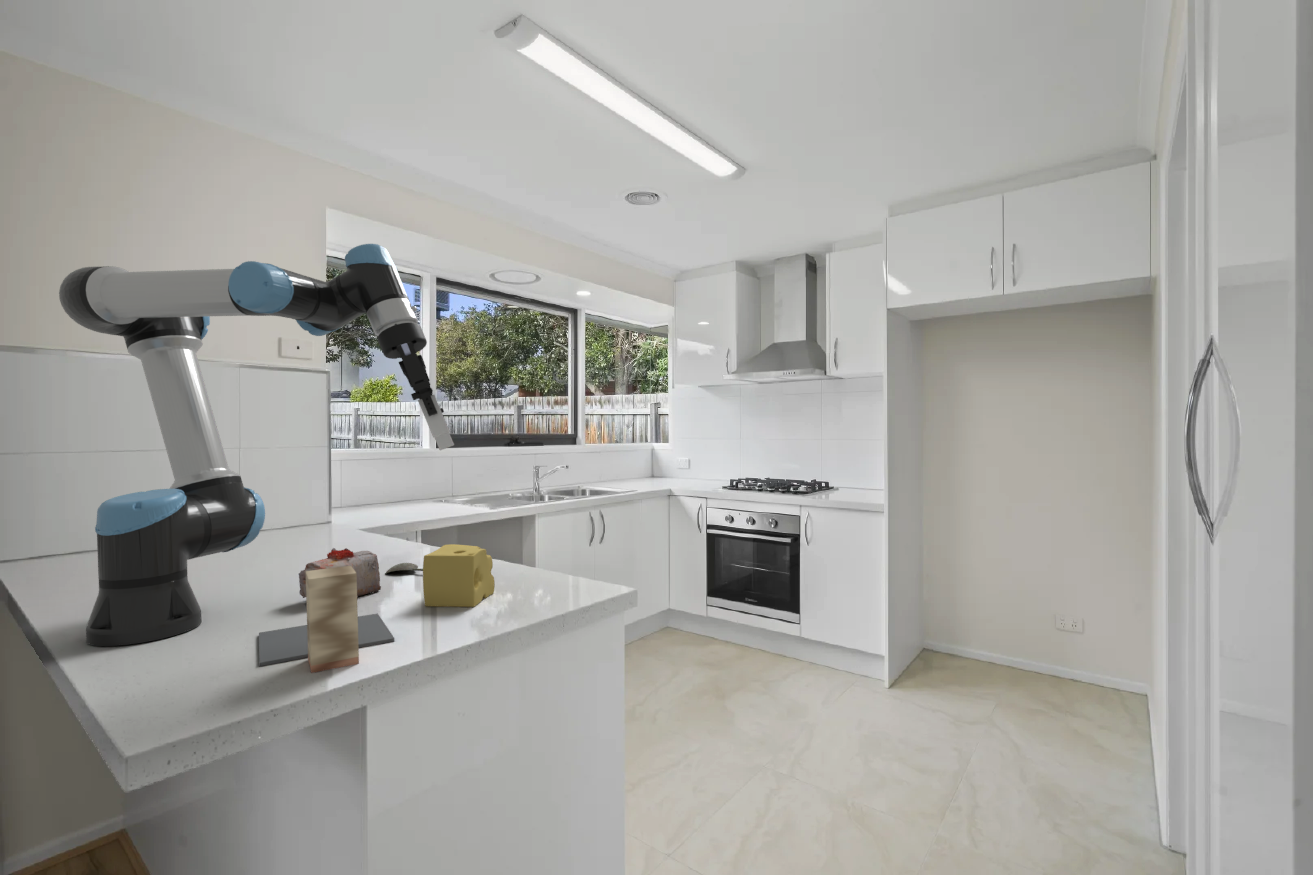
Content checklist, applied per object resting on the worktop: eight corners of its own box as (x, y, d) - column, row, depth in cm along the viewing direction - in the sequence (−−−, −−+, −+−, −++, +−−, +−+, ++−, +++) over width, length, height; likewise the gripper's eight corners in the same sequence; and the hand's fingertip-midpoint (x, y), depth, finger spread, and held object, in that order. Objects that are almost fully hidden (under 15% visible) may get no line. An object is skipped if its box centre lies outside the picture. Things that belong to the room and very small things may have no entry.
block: (311, 672, 87) (308, 579, 87) (308, 659, 92) (305, 571, 92) (358, 663, 90) (356, 573, 90) (353, 651, 95) (351, 565, 95)
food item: (320, 609, 118) (319, 557, 118) (296, 604, 122) (294, 553, 122) (384, 592, 130) (383, 544, 130) (359, 587, 134) (358, 541, 134)
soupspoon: (402, 572, 152) (379, 580, 146) (401, 558, 152) (378, 565, 146) (471, 578, 142) (449, 586, 136) (470, 563, 142) (448, 570, 136)
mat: (259, 666, 90) (259, 662, 90) (258, 635, 103) (258, 632, 103) (394, 641, 99) (394, 637, 99) (377, 616, 113) (377, 613, 113)
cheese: (495, 593, 128) (494, 543, 127) (474, 608, 117) (473, 555, 117) (445, 592, 129) (444, 543, 128) (420, 608, 118) (419, 554, 118)
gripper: (410, 296, 100) (462, 419, 98) (426, 345, 123) (467, 444, 122) (362, 311, 97) (414, 436, 96) (387, 358, 121) (429, 459, 120)
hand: (444, 441), depth 109 cm, fingers open, 13 cm apart
